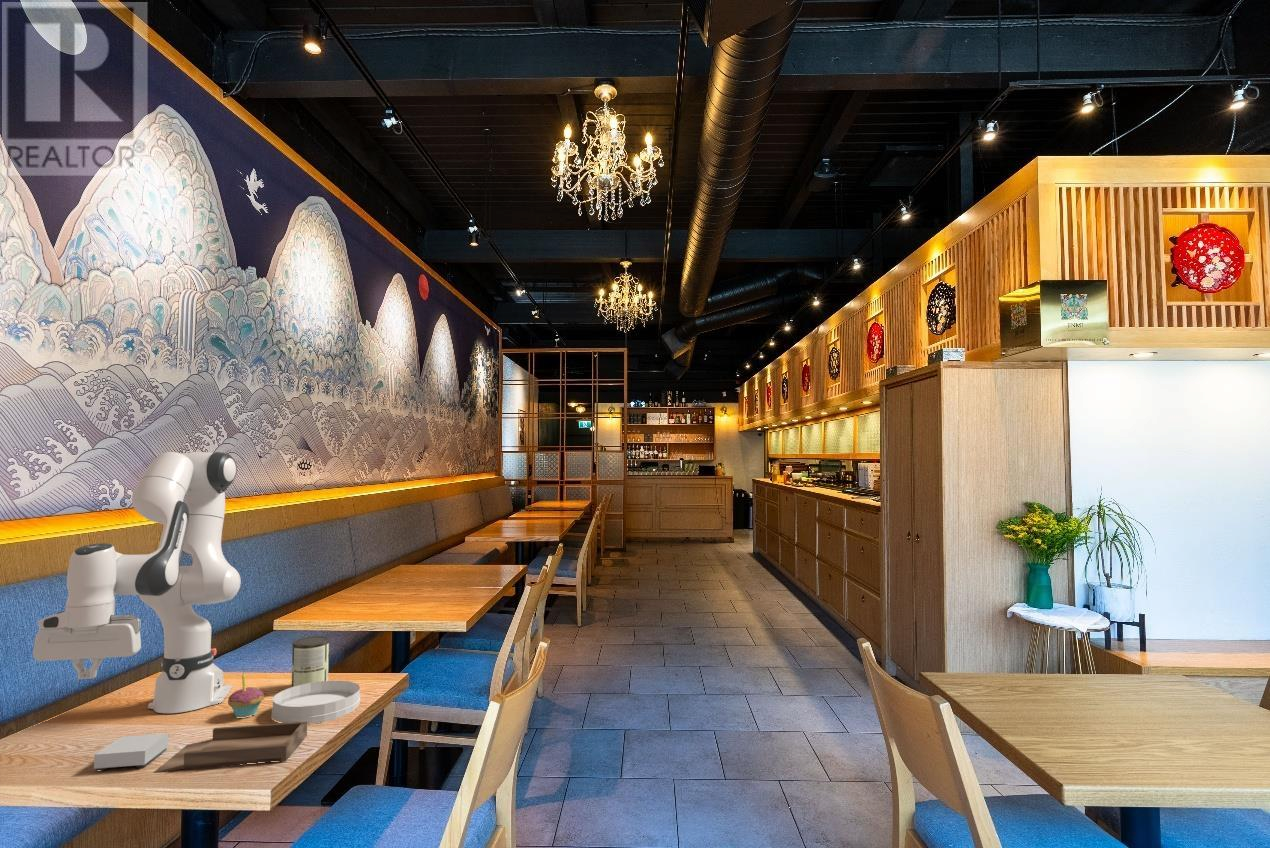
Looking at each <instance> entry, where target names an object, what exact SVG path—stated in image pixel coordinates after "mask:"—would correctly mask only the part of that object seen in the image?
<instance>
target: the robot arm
mask: <svg viewBox="0 0 1270 848" xmlns="http://www.w3.org/2000/svg"><path fill="white" fill-rule="evenodd" d="M236 462H237V461H236V460H235V459H234V457H232V455H231V454H230V453H229V454H228V453H227V452H226V453H225V452H221V451H219V452H218V451H215V452H209V451H192V452H185V453H182V452H176V451H167V452H164V453H163V452H162V453H160V454H159V455H158V456H156V458H154V460H153V461H151V463H150V464H149V465H148V467H147V468H146V469H145V471H144V472H143V474H142V476H141V477H140V478H139V480H138V481H137V484H136V486H135V488H134V490H133V492H132V494H131V495H132V496H131V504H132V506H133V508H134V510H135V511H136V512H137V513H138V514H140V516H142V517H143V518H145V519H147V520H149V521H151V522H155V523H158V524H160V525H163V527H162V529H163V530H162V532H161V535H160V540H159V544H158V546H157V547H158V548H157V549H156V550H155V551H153V552H151V553H148V554H144V553H143V554H123V553H121V552H117V551H116V548H115V546H114V545H113V544H111V543H107V542H106V543H105V542H104V543H101V542H100V543H93V544H87V545H82V546H80V547H78V548H76V549H74V550H73V552H72V553H71V556H70V559H69V563H68V568H67V574H66V589H67V592H68V596H67V600H66V602H65V610H62V611H59V612H57V613H55V614H52V615H49V616H46V617H44V618H41V619H40V620H39V621H38V628H39V631H37V633H36V635H35V637H34V641H33V649H32V651H33V652H32V657H33V659H35V661H36V662H48V661H50V662H51V661H54V662H55V661H67V660H68V661H70V660H72V664H71V665H72V666H73V668H74V669H75V671H76V672H77V680H85V679H86V680H87V679H88V680H89V679H91V680H92V679H94V678H96V677H97V674H98V668H99V667H100V666H101V664H102V663H103V661H104V659H108V658H109V659H110V658H111V659H112V658H125V657H126V658H127V657H128V658H129V657H132V656H134V655H136V654H138V653H139V652H140V650H141V648H142V639H141V631H140V630H141V623H142V622H141V619H140V618H139V617H137V616H135V615H134V614H125V615H123V614H115V613H116V612H115V609H116V597H115V596H137V595H138V597H139V599H140V601H142V603H144V604H145V605H147V606H149V607H150V608H151V609H152V610H153V611H154V613H155V614H156V615H157V616H158V618H159V620H160V623H161V625H162V629H163V644H164V645H163V646H164V647H163V649H164V650H163V656H162V658H161V661H160V662H161V664H160V665H161V667H160V669H161V671H162V672H161V673H160V674H159V675H158V676H157V677H156V678H155V685H154V694H153V699H152V700H153V701H151V702H149V703H148V705H147V708H148V709H151V710H153V711H154V712H155V713H158V714H179V713H185V712H190V711H195V710H199V709H203V708H206V707H209V706H215V705H218V703H219V704H222V703H223V702H224V701H225V699H226V698H225V697H228V695H229V693H230V692H231V690H232V689H233V687H232V686H233V685H232V684H227V683H226V684H225V683H224V671H223V670H222V669H221V668H219V667H218V666H217V665H216V664H215V663H214V662H215V661H214V657H215V656H216V655H217V648H212V647H211V645H212V624H211V623H210V622H209V620H208V619H206V618H205V617H202V616H201V615H198V613H197V612H195V610H194V609H193V607H192V605H193V606H194V605H213V604H214V605H215V604H220V603H224V602H227V601H231V600H232V599H234V597H236V595H238V593H239V591H240V588H241V583H242V579H241V575H240V573H239V572H238V570H237V569H236V568H235V567H234V566H232V565H231V564H230V563H229V562H228V561H227V559H226V558H225V557H226V556H225V555H224V554H223V549H222V537H223V527H224V521H225V515H226V514H225V513H226V493H225V492H226V491H227V490H228V488H229V487H230V486H231V485H232V484H233V483H234V481H235V479H236V476H237V471H238V467H237V463H236ZM182 552H185V553H187V554H189V555H191V557H192V565H181V557H182ZM86 660H90V664H92V665H91V667H90V668H86V666H85V664H84V662H86ZM231 688H232V689H231ZM230 689H231V690H230ZM229 691H230V692H229ZM227 694H228V695H227ZM224 698H225V699H224ZM223 700H224V701H223ZM222 701H223V702H222ZM221 702H222V703H221Z"/></svg>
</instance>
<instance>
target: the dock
mask: <svg viewBox="0 0 1270 848" xmlns="http://www.w3.org/2000/svg"><path fill="white" fill-rule="evenodd" d="M305 737H306V738H307V737H308V725H307V721H306V722H292V723H267V724H251V725H239V726H238V725H237V726H222V727H215V728H213V729H212V739H211V738H210V739H206V740H201V741H198V742H193V743H189V744H186V745H185V746H183V748H181V749H180V750H179V751H177V753H175V754H174V755H173V756H171V759H170V758H169V759H168V760H167V761H165V762H164V763H163V764H162V765H160V766H159V767H158V768H157V769H156V770H155V771H153V773H164V772H165V773H166V772H174V771H177V770H182V769H183V771H188V770H190V771H191V770H199V769H200V770H201V769H211V768H224V767H223V766H228V767H231V766H230V765H240V764H247V763H258V762H271V761H286V760H287V759H288V758H291V756H292V755H293V754H294V753H295V752H296V750H297V749H298V748H299V746H300V745H301V743H303V742H304V740H305V739H306V738H305ZM288 760H289V759H288ZM288 760H287V761H288ZM287 761H286V762H287ZM240 766H241V765H240Z"/></svg>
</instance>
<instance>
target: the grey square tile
mask: <svg viewBox="0 0 1270 848" xmlns="http://www.w3.org/2000/svg"><path fill="white" fill-rule="evenodd" d="M169 736H170V735H169V732H167V733H155V734H143V735H142V734H140V735H128V736H127V735H126V736H125V735H124V736H119V738H117V739H116V740H114V741H113V742H112V743H110V744H109V745H107V746H105V747H103V749H101V750H99V751H97V752H96V753H94V756H93V757H94V759H93V769H94V770H95V771H96V772H97V770H104V771H105V770H106V769H108V768H118V767H119V768H121V767H133V766H135V767H136V768H137V769H144V768H146V767H147V766H148V765H150V763H151V762H154V760H156V759H157V758H158V757H159V756H160V755H162V754H163V753H164V752H165V751H166V750H167V748H168V747H169Z"/></svg>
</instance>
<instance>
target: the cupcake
mask: <svg viewBox="0 0 1270 848" xmlns="http://www.w3.org/2000/svg"><path fill="white" fill-rule="evenodd" d="M241 676H242V677H241V679H242V681H241V682H242V688H240V689H238V690H235V691H234V692H233V693H231V694H229V696H228V701H227V705H228V706H229V707H231V709H232V711H233V713H234V717H235V718H236V717H246V716H250V715H253V714H255V713H256V714H257V711H258V708H259V706H260V704H261V702H262V701H264V699H265V694H264V692H263V690H261V689H259V688H257V687H247V686H246V675H245V673H244V672H243V671H242V675H241ZM256 714H255V715H256Z"/></svg>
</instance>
